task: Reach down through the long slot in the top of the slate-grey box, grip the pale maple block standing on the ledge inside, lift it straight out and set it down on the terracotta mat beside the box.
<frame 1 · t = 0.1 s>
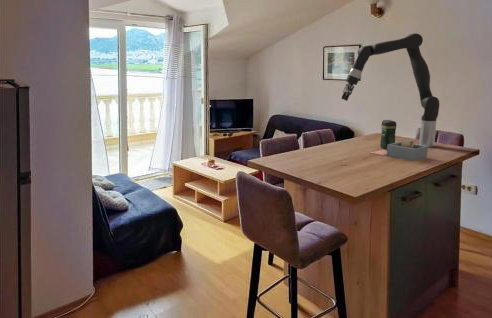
hand: (344, 99, 272), 31 cm above the table, tool tilted 20°, fingers open, 8 cm apart
terracotta mat: (381, 153, 257), on the table
coffee jar: (387, 148, 272), on the table
maple block: (406, 151, 246), point 3 cm above the table, touching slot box
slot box: (406, 156, 247), on the table
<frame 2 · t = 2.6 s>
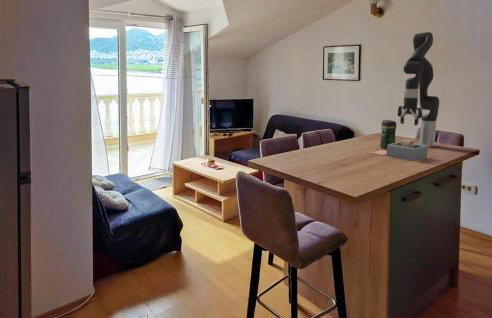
hand: (408, 124, 242), 20 cm above the table, tool pointing down, fingers open, 8 cm apart
nothing on the table moved.
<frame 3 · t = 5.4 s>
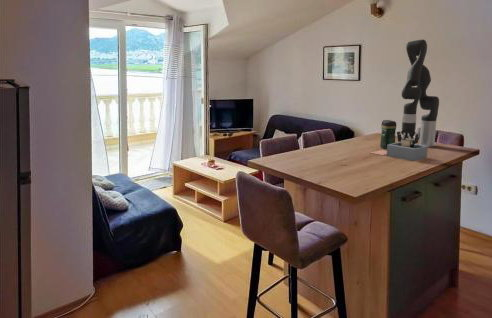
hand: (406, 149, 246), 4 cm above the table, tool pointing down, fingers closed on maple block, 5 cm apart
maple block: (406, 151, 246), point 3 cm above the table, touching gripper, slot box
everything else where it was.
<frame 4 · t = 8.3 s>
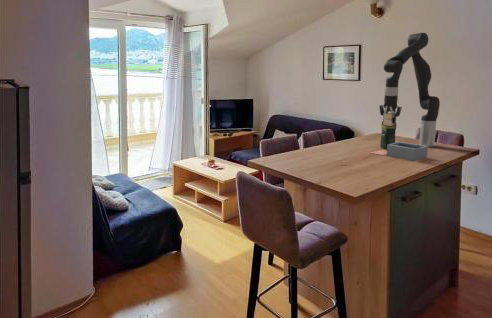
hand: (389, 122, 250), 19 cm above the table, tool pointing down, fingers closed on maple block, 5 cm apart
maple block: (389, 125, 251), point 18 cm above the table, touching gripper
everything else where it was.
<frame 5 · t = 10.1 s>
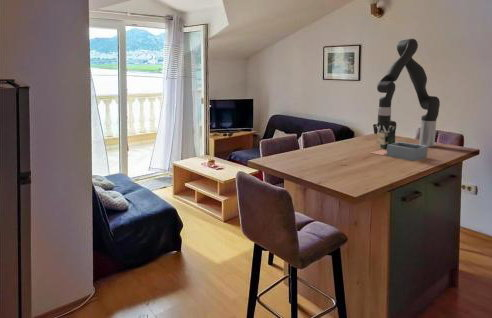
hand: (382, 141, 256), 7 cm above the table, tool pointing down, fingers closed on maple block, 5 cm apart
maple block: (382, 143, 256), point 6 cm above the table, touching gripper
everything else where it was.
when the fingers open (3 cm above the table, at t = 11.4 s): maple block drops 1 cm, resting on terracotta mat.
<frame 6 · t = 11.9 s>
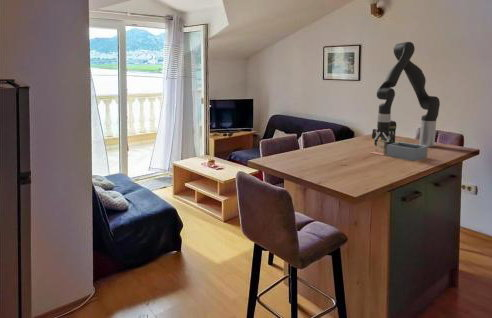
hand: (382, 146, 256), 4 cm above the table, tool pointing down, fingers open, 8 cm apart
maple block: (382, 152, 257), resting on terracotta mat
everything else where it was.
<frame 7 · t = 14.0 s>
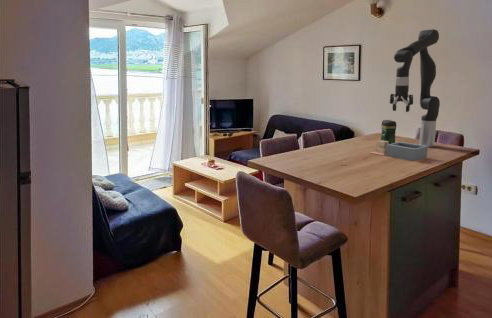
hand: (400, 111, 252), 26 cm above the table, tool pointing down, fingers open, 8 cm apart
nothing on the table moved.
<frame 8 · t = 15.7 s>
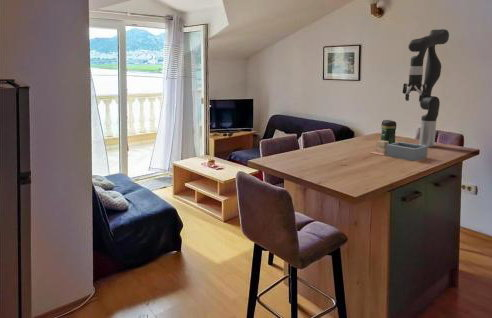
hand: (413, 101, 250), 32 cm above the table, tool pointing down, fingers open, 8 cm apart
nothing on the table moved.
at the end: maple block inside the target area (0.1 cm from its centre), point 0.5 cm above the table; maple block tilted 0°; the gripper is holding nothing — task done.
